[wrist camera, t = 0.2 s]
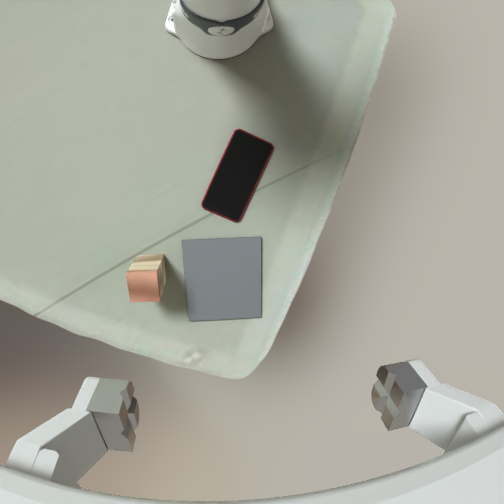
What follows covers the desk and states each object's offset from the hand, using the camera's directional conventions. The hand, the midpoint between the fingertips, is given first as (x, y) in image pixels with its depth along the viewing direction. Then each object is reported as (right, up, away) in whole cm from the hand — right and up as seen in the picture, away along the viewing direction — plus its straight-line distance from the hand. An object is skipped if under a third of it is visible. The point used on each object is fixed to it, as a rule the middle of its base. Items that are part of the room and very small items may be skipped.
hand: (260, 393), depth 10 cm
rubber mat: (-6, -1, +50) cm, 51 cm away
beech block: (-19, +2, +48) cm, 51 cm away
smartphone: (-3, +18, +45) cm, 49 cm away
